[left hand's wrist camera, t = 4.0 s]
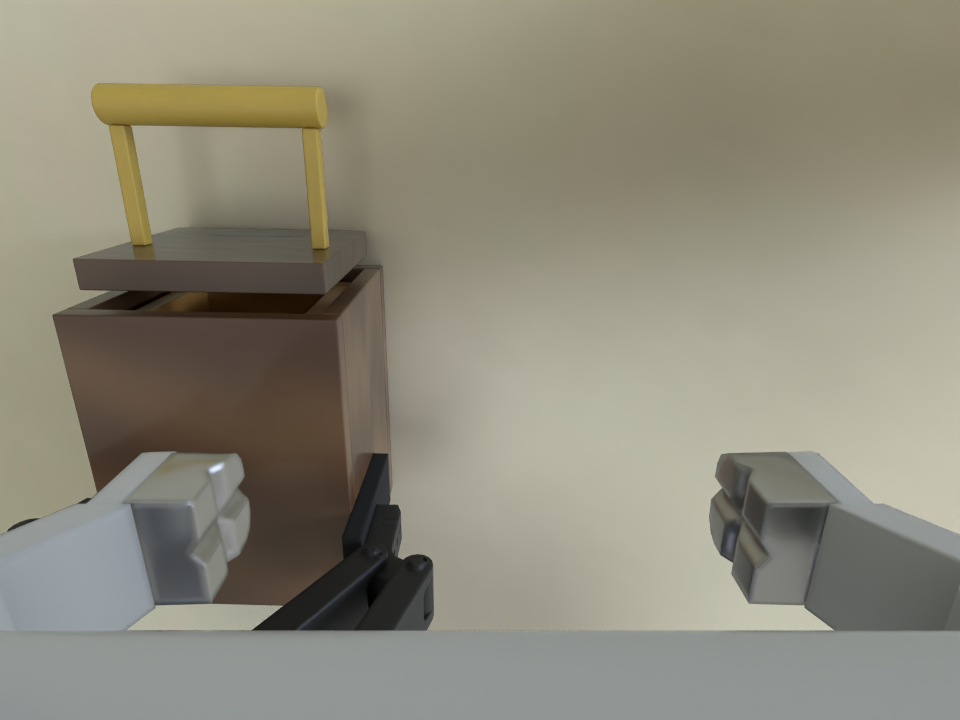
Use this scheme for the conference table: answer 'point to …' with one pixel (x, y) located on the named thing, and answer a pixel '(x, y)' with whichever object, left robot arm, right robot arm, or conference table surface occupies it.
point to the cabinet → (243, 412)
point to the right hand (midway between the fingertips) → (270, 473)
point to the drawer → (221, 251)
